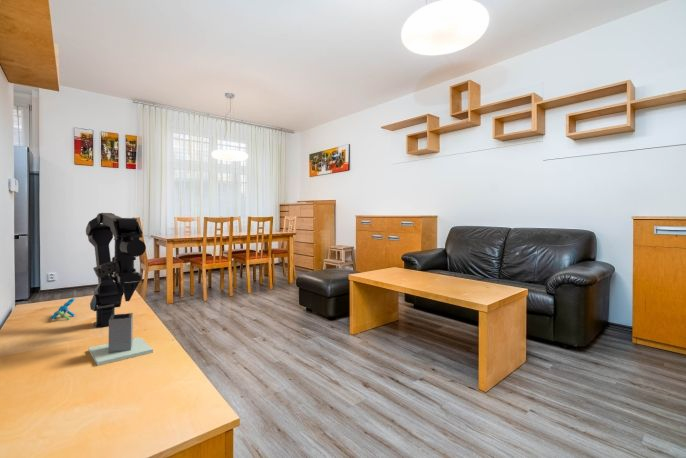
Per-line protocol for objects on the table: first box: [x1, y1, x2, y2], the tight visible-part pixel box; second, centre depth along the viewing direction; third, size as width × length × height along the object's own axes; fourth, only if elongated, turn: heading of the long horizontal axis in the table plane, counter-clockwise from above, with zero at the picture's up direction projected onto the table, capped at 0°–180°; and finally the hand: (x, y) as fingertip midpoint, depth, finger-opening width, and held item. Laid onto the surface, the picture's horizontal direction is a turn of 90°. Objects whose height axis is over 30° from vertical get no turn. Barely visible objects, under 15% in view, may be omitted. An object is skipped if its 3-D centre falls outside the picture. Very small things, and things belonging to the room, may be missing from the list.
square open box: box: [108, 312, 134, 353], centre depth 102 cm, size 6×6×10 cm
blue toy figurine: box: [50, 297, 76, 321], centre depth 134 cm, size 11×6×10 cm
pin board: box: [88, 336, 154, 367], centre depth 102 cm, size 14×14×5 cm
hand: (123, 298), depth 115 cm, fingers open, 9 cm apart
